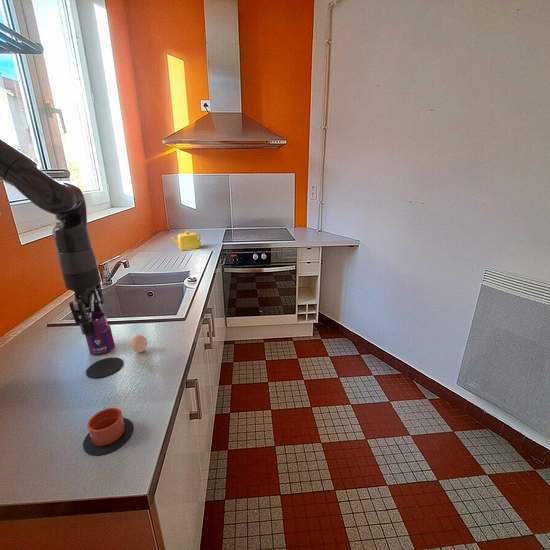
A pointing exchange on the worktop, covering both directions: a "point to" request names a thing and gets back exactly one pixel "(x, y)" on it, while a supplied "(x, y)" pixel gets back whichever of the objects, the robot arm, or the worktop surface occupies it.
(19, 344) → the worktop surface
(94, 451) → the front coaster
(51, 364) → the worktop surface
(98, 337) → the mug
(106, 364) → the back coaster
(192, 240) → the teapot
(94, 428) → the clay dish
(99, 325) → the plum dish
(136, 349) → the egg
